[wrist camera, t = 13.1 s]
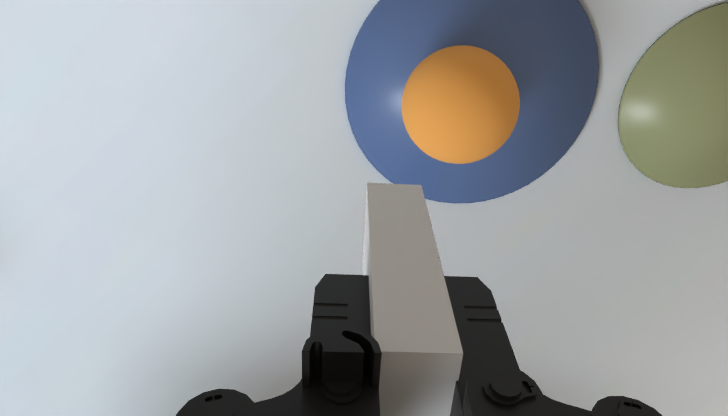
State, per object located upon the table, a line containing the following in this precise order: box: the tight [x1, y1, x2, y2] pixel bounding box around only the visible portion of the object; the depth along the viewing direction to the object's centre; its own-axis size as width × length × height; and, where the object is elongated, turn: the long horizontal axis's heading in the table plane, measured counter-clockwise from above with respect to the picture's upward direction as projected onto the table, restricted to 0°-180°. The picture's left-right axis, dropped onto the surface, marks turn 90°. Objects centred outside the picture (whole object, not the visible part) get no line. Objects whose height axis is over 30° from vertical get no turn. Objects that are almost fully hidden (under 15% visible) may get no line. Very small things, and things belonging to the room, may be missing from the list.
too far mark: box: [618, 3, 728, 188], centre depth 29 cm, size 10×10×1 cm
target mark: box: [345, 0, 599, 203], centre depth 28 cm, size 13×13×1 cm
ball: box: [402, 45, 520, 164], centre depth 26 cm, size 6×6×6 cm
